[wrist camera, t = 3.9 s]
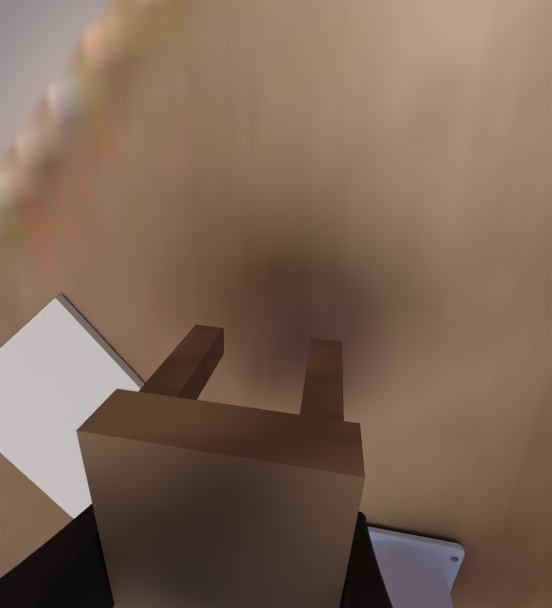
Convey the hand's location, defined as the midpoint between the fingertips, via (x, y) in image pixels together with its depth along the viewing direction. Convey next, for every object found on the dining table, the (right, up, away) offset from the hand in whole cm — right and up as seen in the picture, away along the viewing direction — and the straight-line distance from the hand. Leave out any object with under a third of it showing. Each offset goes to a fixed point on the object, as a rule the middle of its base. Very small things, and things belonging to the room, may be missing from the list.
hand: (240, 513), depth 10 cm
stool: (+1, +1, +3) cm, 3 cm away
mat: (-13, -2, +14) cm, 19 cm away
